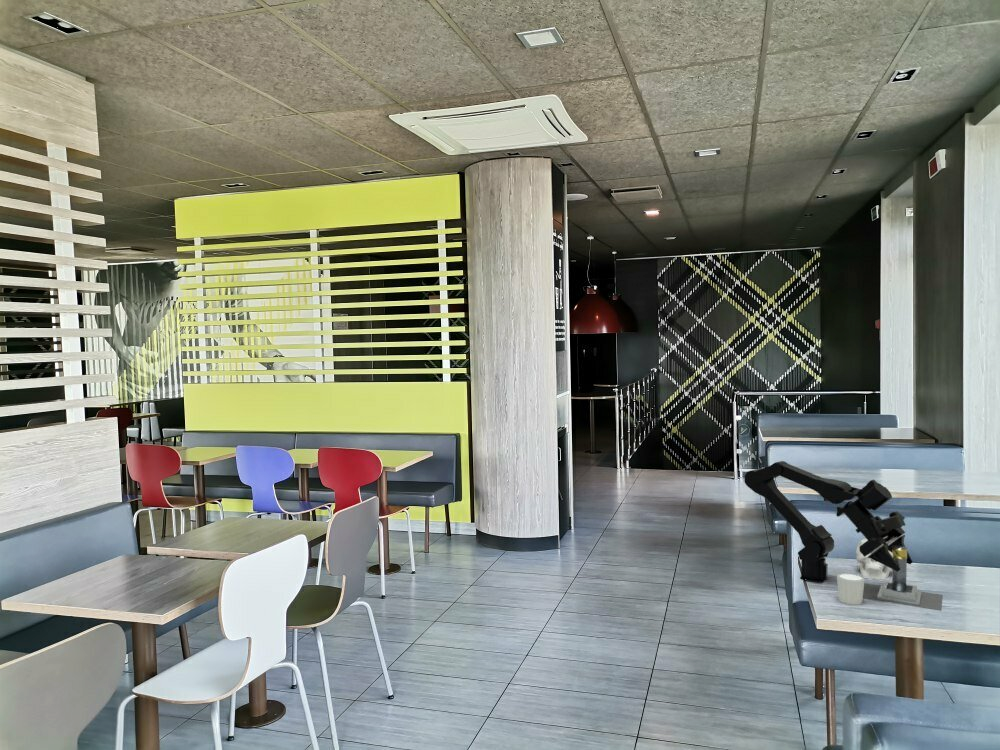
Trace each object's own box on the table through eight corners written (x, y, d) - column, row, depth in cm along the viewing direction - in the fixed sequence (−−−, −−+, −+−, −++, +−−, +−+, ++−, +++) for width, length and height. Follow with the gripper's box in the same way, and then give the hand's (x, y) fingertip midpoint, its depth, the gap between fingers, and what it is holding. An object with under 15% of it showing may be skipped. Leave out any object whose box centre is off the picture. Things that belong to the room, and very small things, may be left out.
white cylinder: (837, 605, 195) (837, 579, 195) (835, 596, 202) (835, 571, 201) (866, 608, 193) (866, 581, 192) (862, 599, 199) (863, 574, 199)
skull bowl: (853, 574, 216) (855, 535, 221) (856, 588, 226) (858, 550, 232) (893, 579, 211) (894, 539, 216) (894, 593, 221) (895, 554, 226)
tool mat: (848, 597, 201) (848, 595, 201) (854, 583, 213) (854, 581, 213) (941, 612, 189) (941, 610, 189) (942, 596, 201) (942, 594, 201)
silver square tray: (877, 599, 198) (877, 589, 198) (880, 588, 206) (880, 579, 206) (919, 605, 193) (919, 596, 193) (921, 594, 201) (921, 585, 201)
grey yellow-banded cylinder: (893, 595, 199) (893, 548, 198) (890, 591, 202) (891, 544, 201) (907, 596, 197) (908, 549, 197) (904, 592, 201) (905, 545, 200)
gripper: (872, 508, 195) (916, 557, 187) (897, 498, 208) (940, 543, 200) (841, 532, 201) (883, 580, 194) (868, 520, 214) (908, 565, 206)
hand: (905, 566), depth 198 cm, fingers open, 9 cm apart
